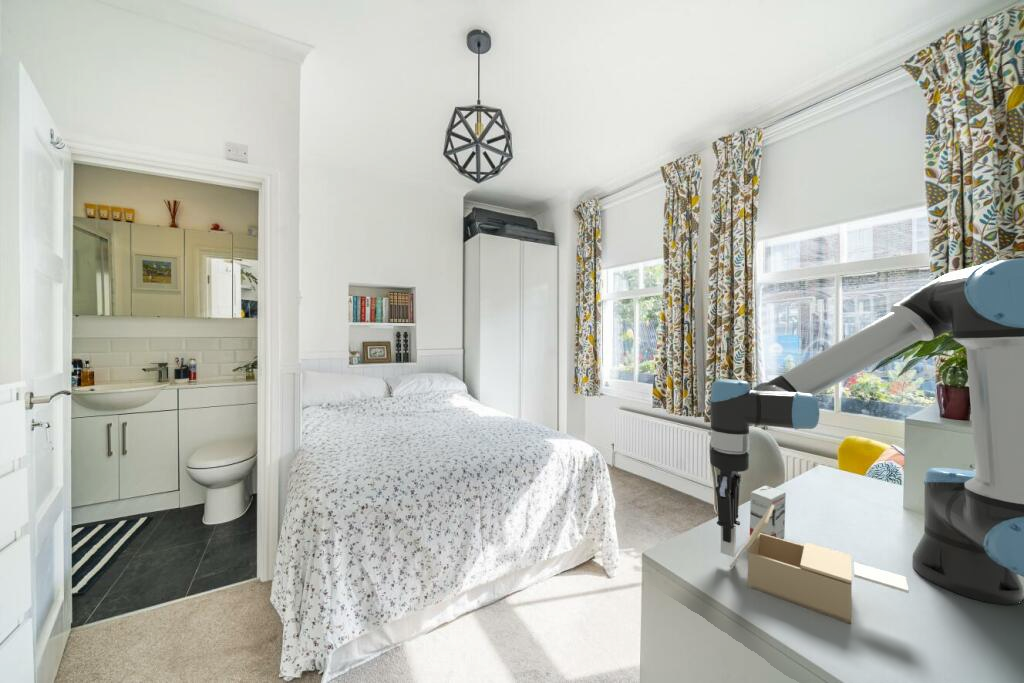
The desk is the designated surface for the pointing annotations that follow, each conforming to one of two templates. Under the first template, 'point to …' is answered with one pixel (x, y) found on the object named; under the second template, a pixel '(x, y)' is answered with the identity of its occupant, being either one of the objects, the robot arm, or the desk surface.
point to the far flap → (753, 535)
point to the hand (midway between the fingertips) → (728, 553)
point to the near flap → (847, 567)
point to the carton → (795, 578)
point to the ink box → (760, 506)
